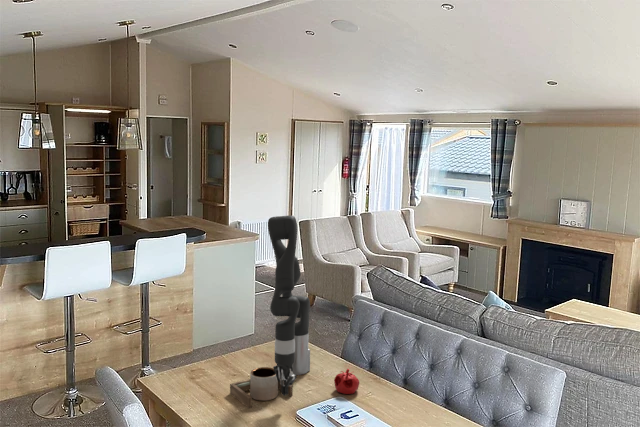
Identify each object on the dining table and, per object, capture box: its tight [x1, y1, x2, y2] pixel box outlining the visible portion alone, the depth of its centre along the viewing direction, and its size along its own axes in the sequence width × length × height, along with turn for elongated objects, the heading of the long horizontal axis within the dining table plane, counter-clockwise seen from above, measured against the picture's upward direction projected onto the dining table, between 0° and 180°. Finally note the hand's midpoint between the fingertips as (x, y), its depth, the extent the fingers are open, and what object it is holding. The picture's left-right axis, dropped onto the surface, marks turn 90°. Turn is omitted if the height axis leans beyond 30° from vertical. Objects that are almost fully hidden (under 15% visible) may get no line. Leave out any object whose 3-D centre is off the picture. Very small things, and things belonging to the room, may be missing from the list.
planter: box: [249, 366, 279, 402], centre depth 221 cm, size 11×11×10 cm
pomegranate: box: [333, 368, 360, 395], centre depth 227 cm, size 10×10×9 cm
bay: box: [229, 378, 294, 409], centre depth 223 cm, size 19×15×4 cm
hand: (284, 394), depth 211 cm, fingers closed
